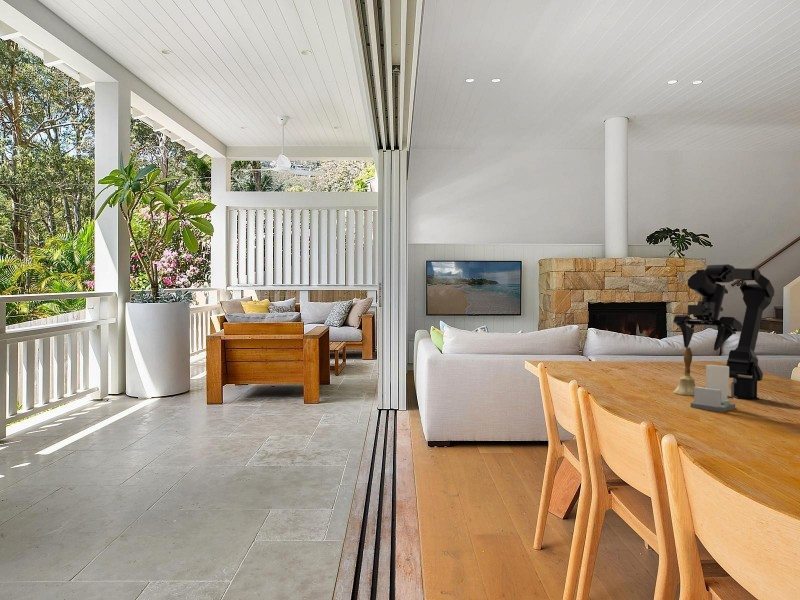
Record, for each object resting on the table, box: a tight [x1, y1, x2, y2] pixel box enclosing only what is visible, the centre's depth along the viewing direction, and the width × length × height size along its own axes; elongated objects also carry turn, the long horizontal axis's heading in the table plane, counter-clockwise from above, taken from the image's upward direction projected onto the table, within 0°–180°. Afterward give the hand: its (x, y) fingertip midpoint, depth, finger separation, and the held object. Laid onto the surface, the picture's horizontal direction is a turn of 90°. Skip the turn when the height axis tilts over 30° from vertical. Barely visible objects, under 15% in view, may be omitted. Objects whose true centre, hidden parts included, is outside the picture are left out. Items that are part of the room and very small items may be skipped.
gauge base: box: [690, 386, 736, 413], centre depth 168 cm, size 10×9×6 cm
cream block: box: [705, 364, 734, 403], centre depth 170 cm, size 2×9×11 cm, turn 39°
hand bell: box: [673, 347, 697, 397], centre depth 192 cm, size 8×8×16 cm
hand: (700, 348), depth 171 cm, fingers open, 9 cm apart
